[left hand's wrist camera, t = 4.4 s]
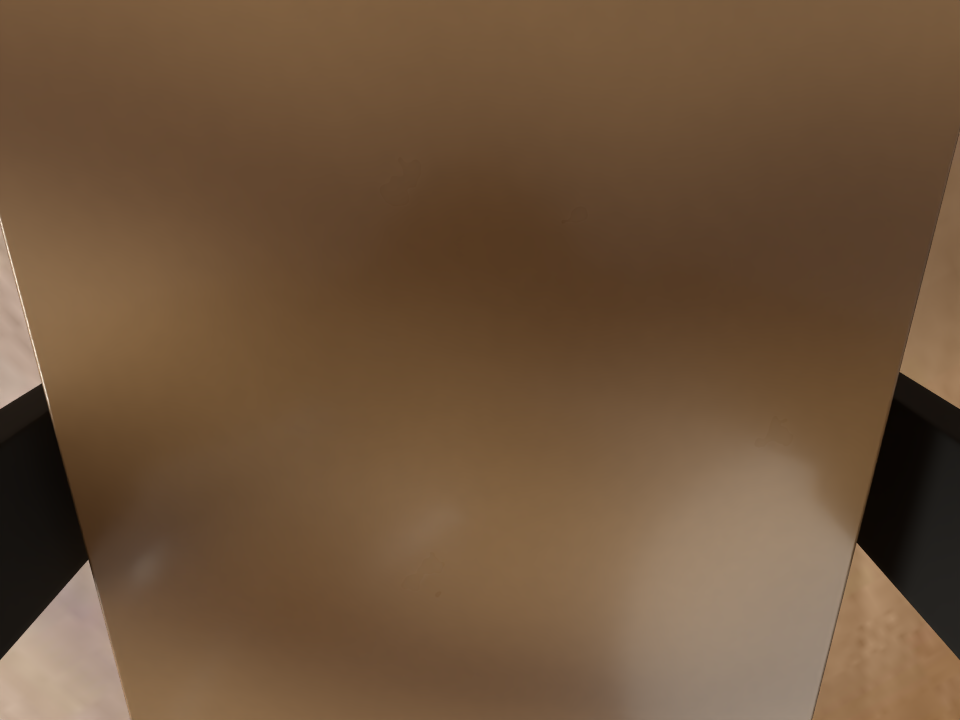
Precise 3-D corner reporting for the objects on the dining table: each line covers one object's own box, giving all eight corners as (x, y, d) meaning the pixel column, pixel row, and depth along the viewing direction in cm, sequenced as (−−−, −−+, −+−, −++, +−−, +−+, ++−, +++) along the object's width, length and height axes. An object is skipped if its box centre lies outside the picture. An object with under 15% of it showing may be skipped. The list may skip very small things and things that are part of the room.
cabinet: (235, -249, 15) (-374, -1171, 4) (709, -247, 15) (1287, -1156, 4) (307, 423, 21) (133, 736, 10) (642, 423, 21) (811, 733, 10)
